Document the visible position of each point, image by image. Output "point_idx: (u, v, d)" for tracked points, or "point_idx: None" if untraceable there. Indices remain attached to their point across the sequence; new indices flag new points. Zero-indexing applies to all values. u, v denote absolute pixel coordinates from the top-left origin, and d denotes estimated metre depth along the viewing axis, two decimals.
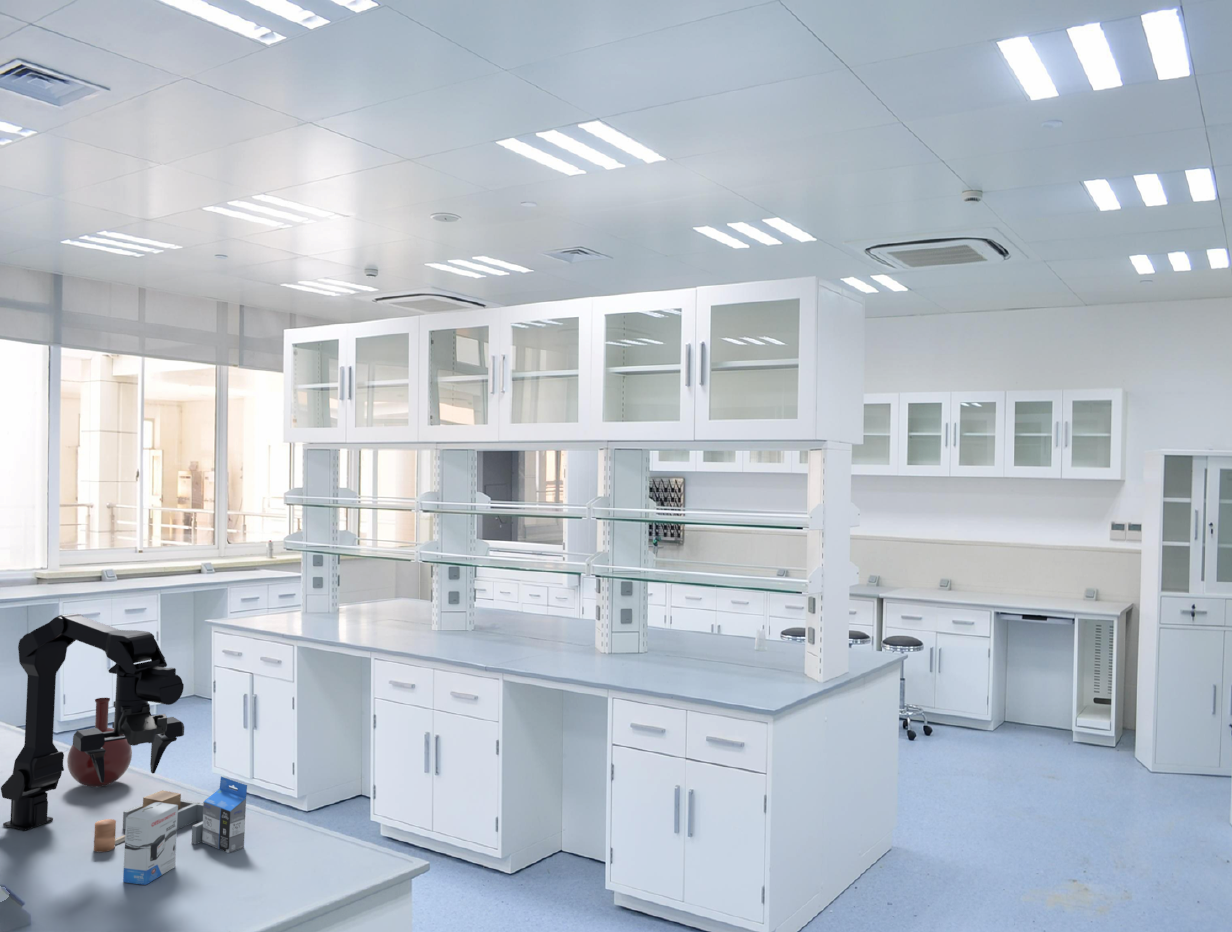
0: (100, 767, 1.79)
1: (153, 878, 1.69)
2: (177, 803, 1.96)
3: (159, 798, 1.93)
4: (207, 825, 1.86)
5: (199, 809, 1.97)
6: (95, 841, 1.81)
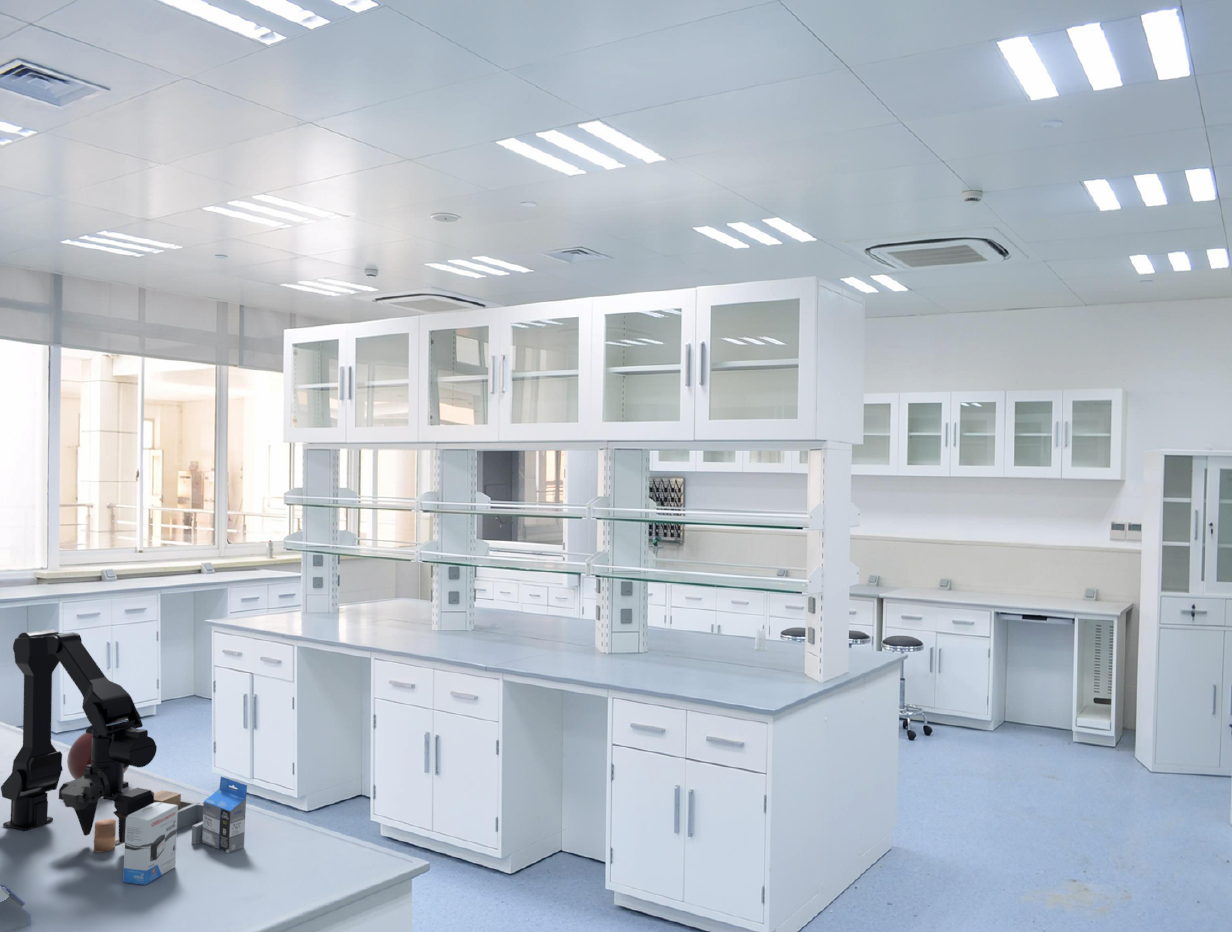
0: (79, 819, 1.83)
1: (153, 878, 1.69)
2: (177, 803, 1.96)
3: (159, 798, 1.93)
4: (207, 825, 1.86)
5: (199, 809, 1.97)
6: (95, 841, 1.81)
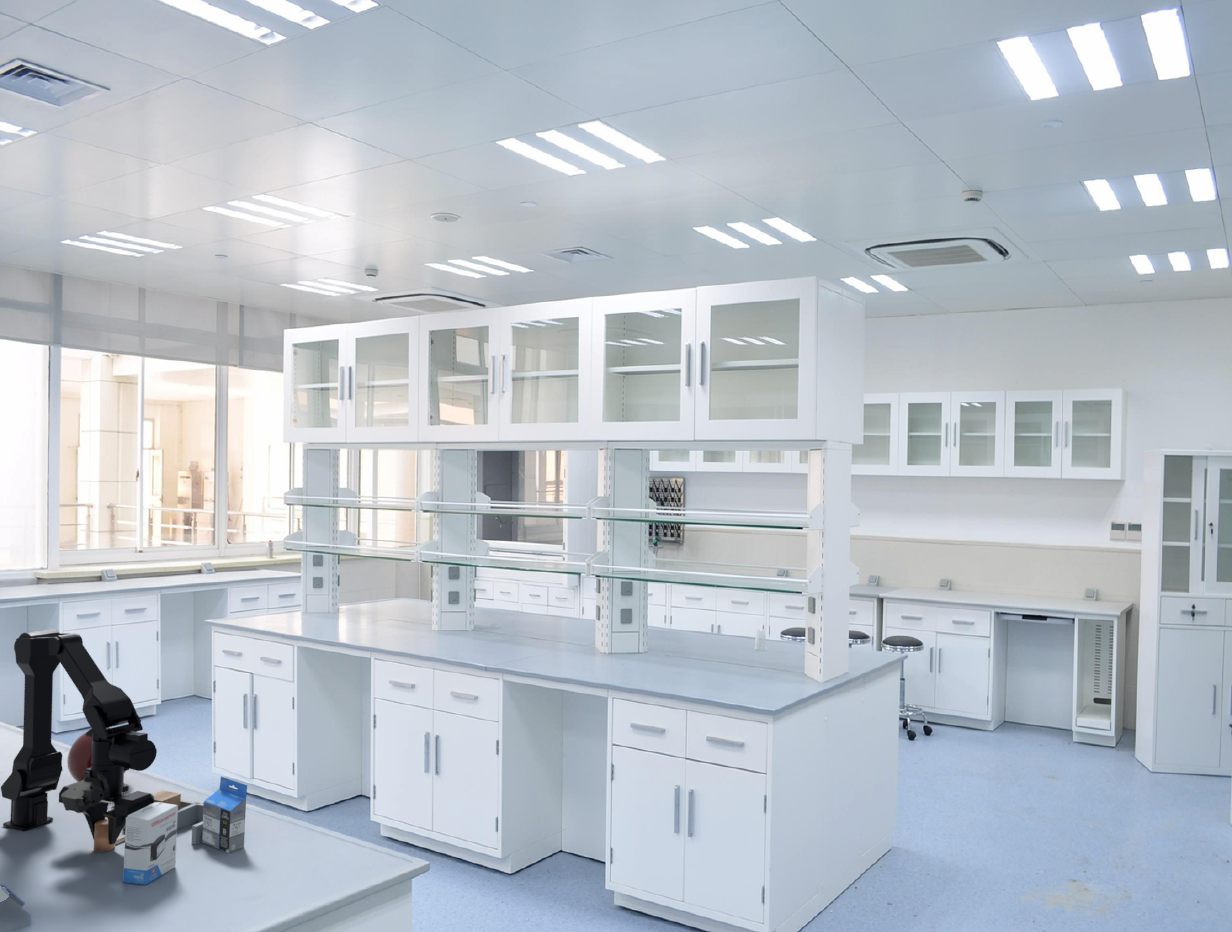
0: (89, 824, 1.82)
1: (153, 878, 1.69)
2: (177, 803, 1.96)
3: (159, 798, 1.93)
4: (207, 825, 1.86)
5: (199, 809, 1.97)
6: (95, 841, 1.81)
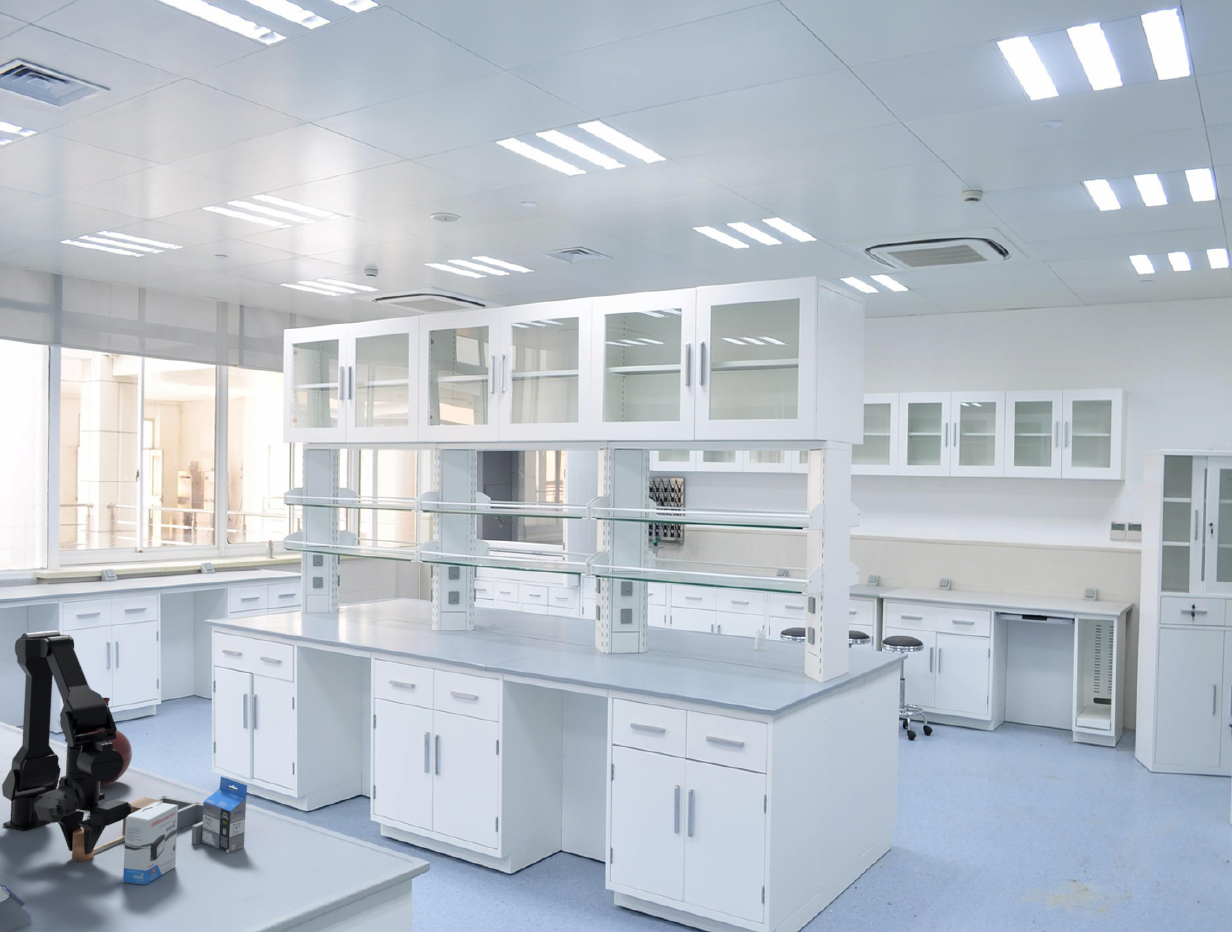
0: (64, 834, 1.77)
1: (153, 878, 1.69)
2: None
3: (140, 805, 1.89)
4: (207, 825, 1.86)
5: (199, 809, 1.97)
6: (73, 850, 1.76)
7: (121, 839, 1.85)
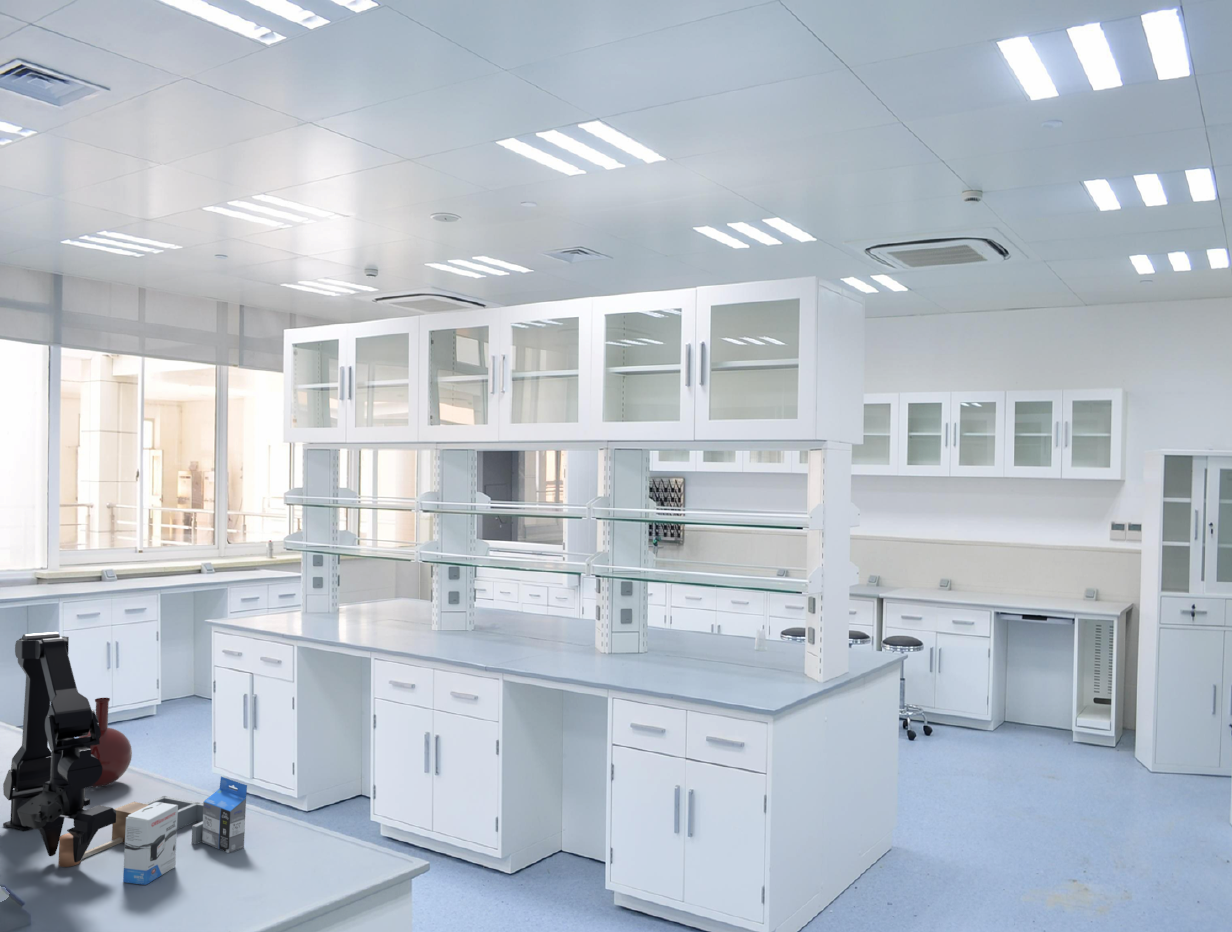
0: (44, 839, 1.74)
1: (153, 878, 1.69)
2: None
3: (129, 810, 1.86)
4: (207, 825, 1.86)
5: (199, 809, 1.97)
6: (60, 855, 1.73)
7: (109, 844, 1.83)
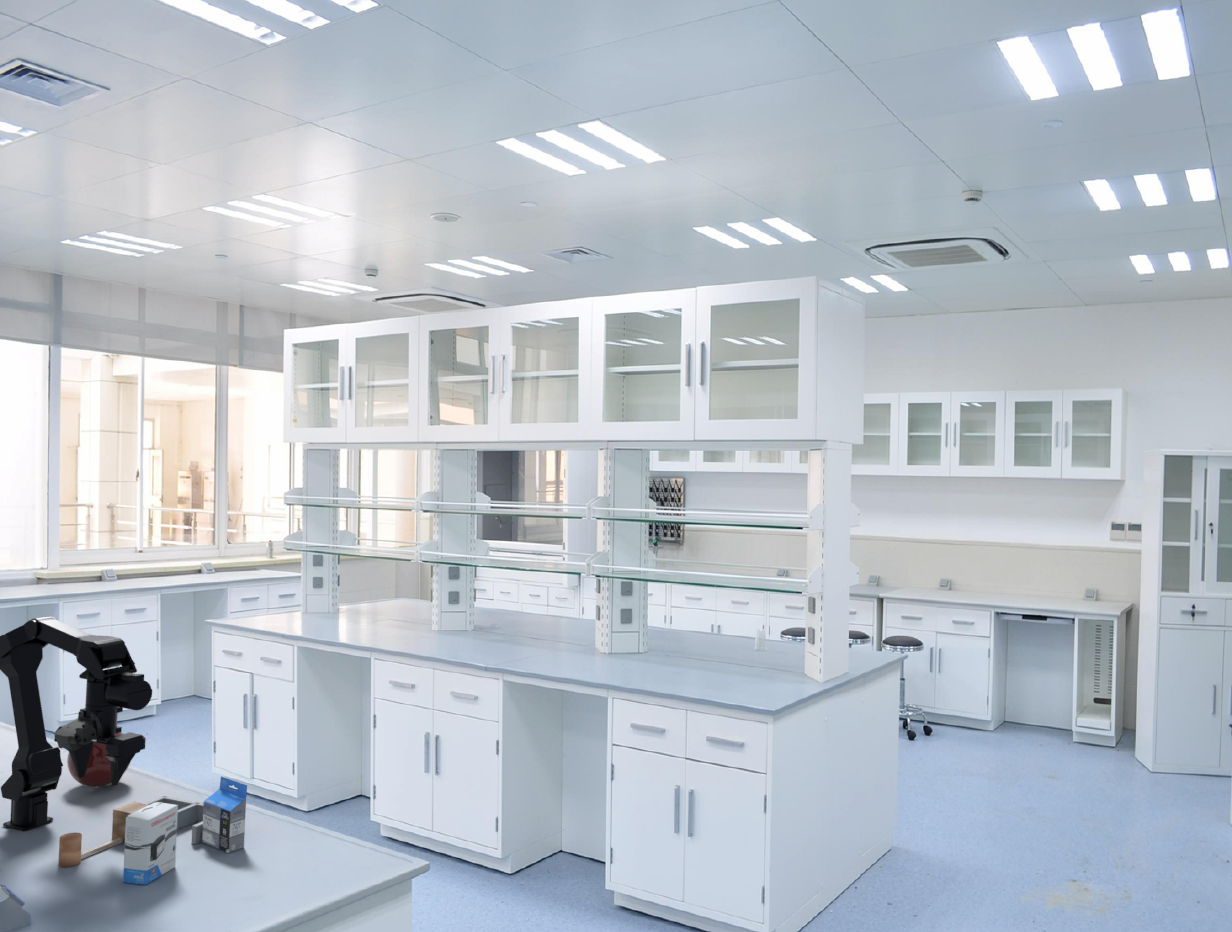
0: (74, 762, 1.87)
1: (153, 878, 1.69)
2: None
3: (129, 810, 1.86)
4: (207, 825, 1.86)
5: (199, 809, 1.97)
6: (60, 855, 1.73)
7: (109, 844, 1.83)
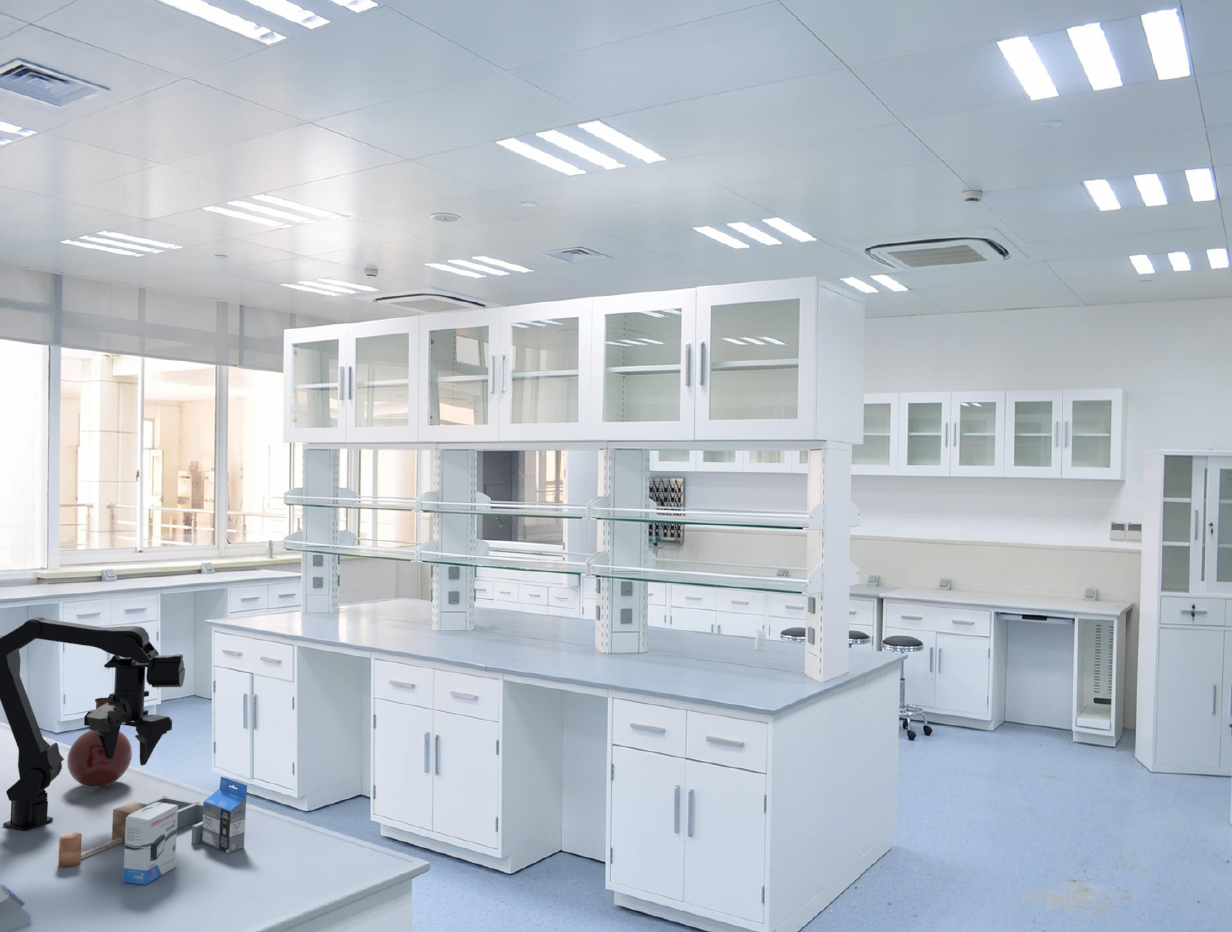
0: (103, 744, 1.98)
1: (153, 878, 1.69)
2: None
3: (129, 810, 1.86)
4: (207, 825, 1.86)
5: (199, 809, 1.97)
6: (60, 855, 1.73)
7: (109, 844, 1.83)
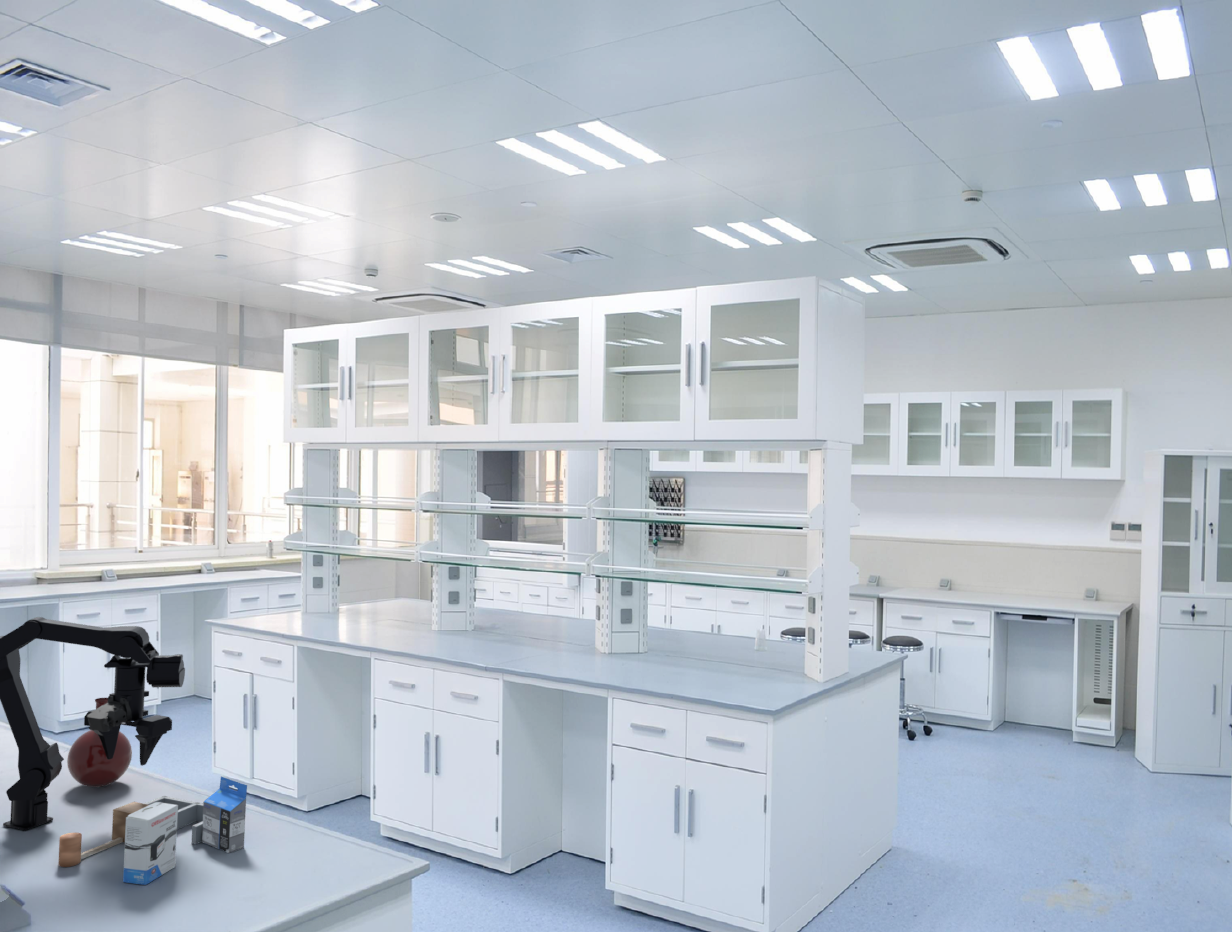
0: (103, 744, 1.98)
1: (153, 878, 1.69)
2: None
3: (129, 810, 1.86)
4: (207, 825, 1.86)
5: (199, 809, 1.97)
6: (60, 855, 1.73)
7: (109, 844, 1.83)
